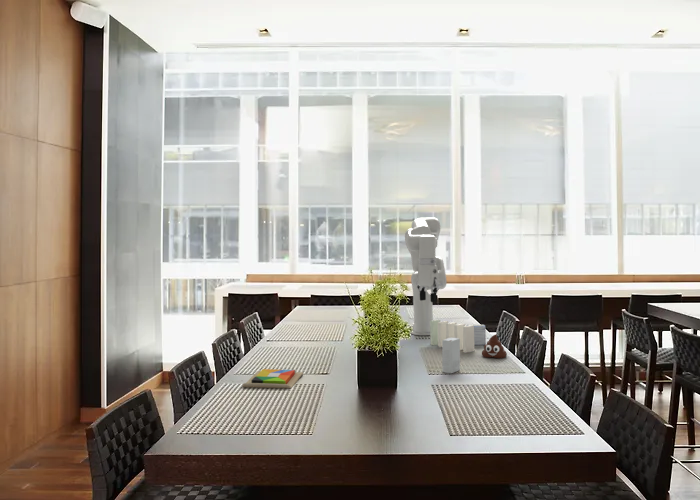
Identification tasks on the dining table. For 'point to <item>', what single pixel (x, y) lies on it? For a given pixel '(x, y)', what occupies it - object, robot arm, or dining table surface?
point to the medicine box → (479, 334)
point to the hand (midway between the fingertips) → (428, 300)
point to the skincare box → (451, 355)
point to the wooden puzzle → (273, 379)
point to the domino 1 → (434, 332)
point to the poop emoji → (494, 348)
